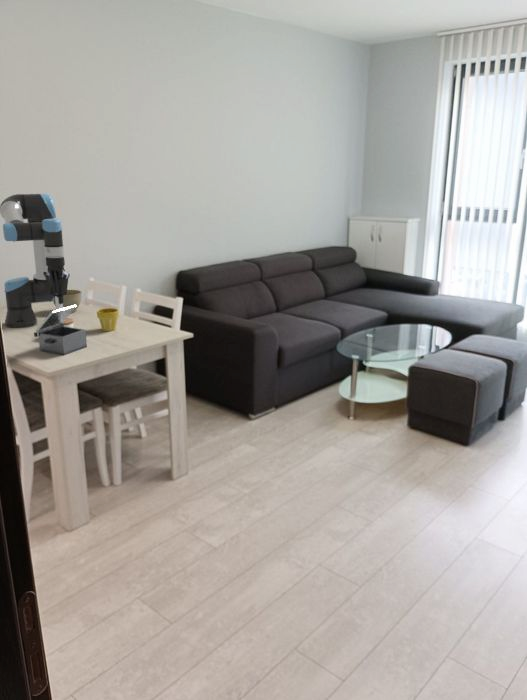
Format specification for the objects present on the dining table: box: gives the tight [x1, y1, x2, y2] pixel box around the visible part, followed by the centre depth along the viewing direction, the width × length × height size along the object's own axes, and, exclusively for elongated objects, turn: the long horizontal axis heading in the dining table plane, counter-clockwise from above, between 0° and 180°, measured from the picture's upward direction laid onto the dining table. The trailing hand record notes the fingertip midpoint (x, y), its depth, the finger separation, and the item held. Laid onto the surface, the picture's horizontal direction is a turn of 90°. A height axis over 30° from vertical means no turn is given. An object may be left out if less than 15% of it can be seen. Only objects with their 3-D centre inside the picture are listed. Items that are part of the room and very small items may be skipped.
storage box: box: [33, 324, 88, 356], centre depth 255 cm, size 15×17×8 cm
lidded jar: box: [62, 317, 75, 328], centre depth 274 cm, size 11×11×9 cm
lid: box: [35, 305, 77, 333], centre depth 253 cm, size 15×14×3 cm
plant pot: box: [96, 307, 120, 332], centre depth 286 cm, size 10×10×10 cm
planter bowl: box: [52, 289, 83, 313], centre depth 321 cm, size 16×16×11 cm
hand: (59, 310), depth 251 cm, fingers closed
